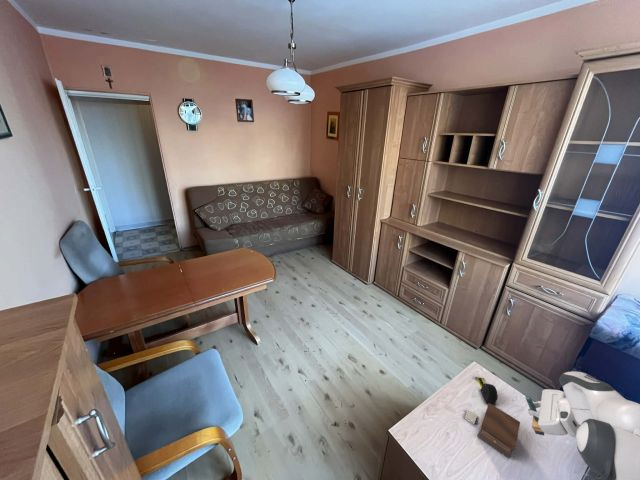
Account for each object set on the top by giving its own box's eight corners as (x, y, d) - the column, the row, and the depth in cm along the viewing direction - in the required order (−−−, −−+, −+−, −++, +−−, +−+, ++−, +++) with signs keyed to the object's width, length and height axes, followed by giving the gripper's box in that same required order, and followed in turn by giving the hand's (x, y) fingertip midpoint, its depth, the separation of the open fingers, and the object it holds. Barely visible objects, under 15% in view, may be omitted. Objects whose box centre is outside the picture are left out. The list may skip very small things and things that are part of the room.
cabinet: (507, 460, 111) (514, 450, 108) (475, 437, 119) (480, 427, 115) (513, 432, 121) (520, 422, 118) (483, 412, 129) (489, 402, 125)
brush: (544, 435, 104) (531, 405, 104) (534, 433, 107) (522, 403, 106) (546, 420, 110) (533, 391, 110) (536, 418, 112) (524, 390, 112)
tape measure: (494, 405, 132) (499, 395, 129) (485, 404, 133) (490, 394, 129) (482, 379, 145) (487, 369, 142) (474, 378, 146) (479, 368, 142)
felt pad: (465, 416, 125) (464, 418, 126) (474, 422, 123) (473, 424, 124) (468, 410, 128) (467, 412, 129) (477, 416, 126) (476, 417, 127)
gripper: (566, 385, 106) (528, 385, 117) (565, 424, 93) (521, 420, 103) (576, 399, 106) (536, 398, 116) (575, 441, 92) (530, 435, 102)
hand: (529, 409), depth 109 cm, fingers closed on brush, 2 cm apart
